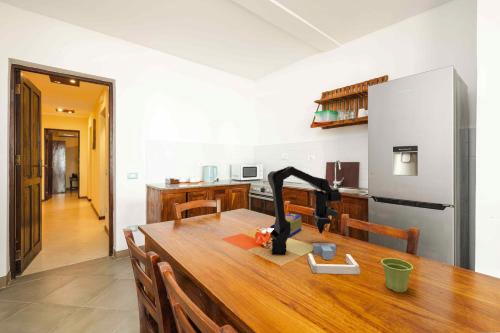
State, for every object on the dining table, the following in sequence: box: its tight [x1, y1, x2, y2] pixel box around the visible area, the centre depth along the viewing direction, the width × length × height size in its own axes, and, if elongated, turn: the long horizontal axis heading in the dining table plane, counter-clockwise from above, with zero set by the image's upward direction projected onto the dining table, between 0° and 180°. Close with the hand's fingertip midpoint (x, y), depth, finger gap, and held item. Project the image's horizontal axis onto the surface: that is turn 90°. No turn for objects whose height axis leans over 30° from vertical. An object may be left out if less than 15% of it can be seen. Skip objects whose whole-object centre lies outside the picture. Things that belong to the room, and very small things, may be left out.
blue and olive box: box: [270, 213, 303, 238], centre depth 148 cm, size 10×25×10 cm, turn 145°
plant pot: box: [380, 257, 414, 293], centre depth 84 cm, size 9×9×9 cm
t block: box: [312, 242, 337, 261], centre depth 114 cm, size 10×10×4 cm
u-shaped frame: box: [307, 253, 361, 275], centre depth 102 cm, size 18×12×3 cm
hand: (320, 233), depth 124 cm, fingers closed
